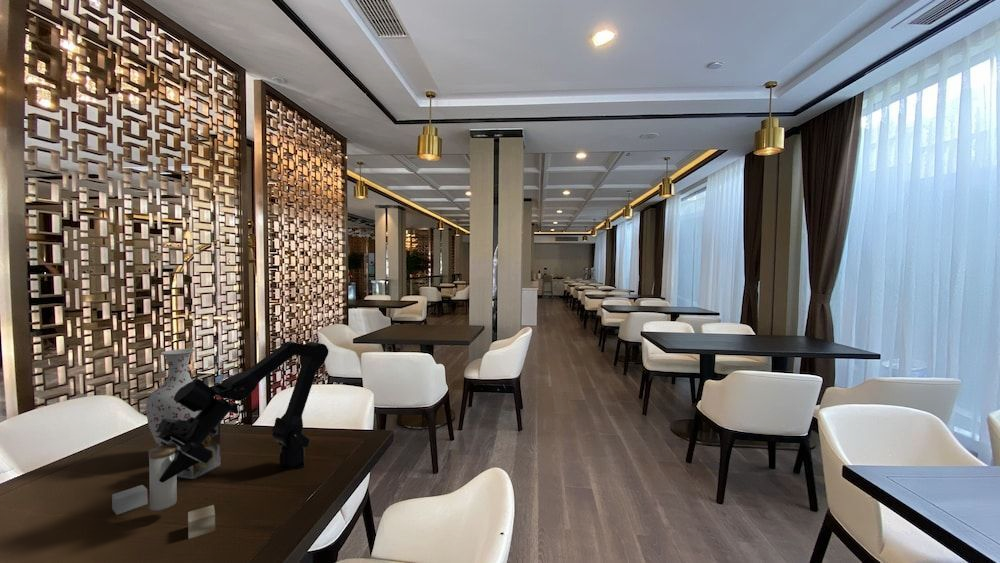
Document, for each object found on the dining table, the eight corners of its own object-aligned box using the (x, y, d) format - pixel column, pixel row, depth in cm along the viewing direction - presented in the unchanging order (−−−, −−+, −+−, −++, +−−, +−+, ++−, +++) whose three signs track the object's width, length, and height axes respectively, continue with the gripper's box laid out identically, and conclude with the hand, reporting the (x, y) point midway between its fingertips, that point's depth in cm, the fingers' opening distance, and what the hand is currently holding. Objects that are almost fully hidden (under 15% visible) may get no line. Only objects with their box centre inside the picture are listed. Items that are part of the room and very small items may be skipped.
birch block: (213, 520, 100) (213, 504, 100) (215, 531, 96) (215, 514, 96) (188, 528, 96) (188, 512, 96) (188, 539, 93) (188, 522, 92)
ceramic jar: (180, 496, 104) (179, 442, 104) (173, 507, 99) (173, 451, 99) (153, 501, 102) (153, 446, 102) (145, 512, 97) (144, 455, 97)
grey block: (142, 499, 109) (142, 484, 109) (147, 504, 106) (147, 489, 106) (112, 510, 104) (112, 494, 104) (116, 515, 101) (116, 499, 101)
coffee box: (205, 463, 129) (204, 413, 129) (221, 465, 128) (221, 415, 127) (176, 477, 120) (175, 423, 120) (193, 479, 119) (193, 425, 119)
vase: (144, 472, 123) (144, 358, 122) (147, 454, 135) (147, 350, 135) (210, 458, 133) (209, 352, 132) (207, 441, 145) (206, 345, 145)
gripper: (167, 398, 108) (112, 454, 99) (197, 412, 98) (139, 475, 89) (201, 419, 115) (153, 473, 106) (233, 433, 105) (182, 494, 96)
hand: (156, 478), depth 99 cm, fingers closed on ceramic jar, 5 cm apart
